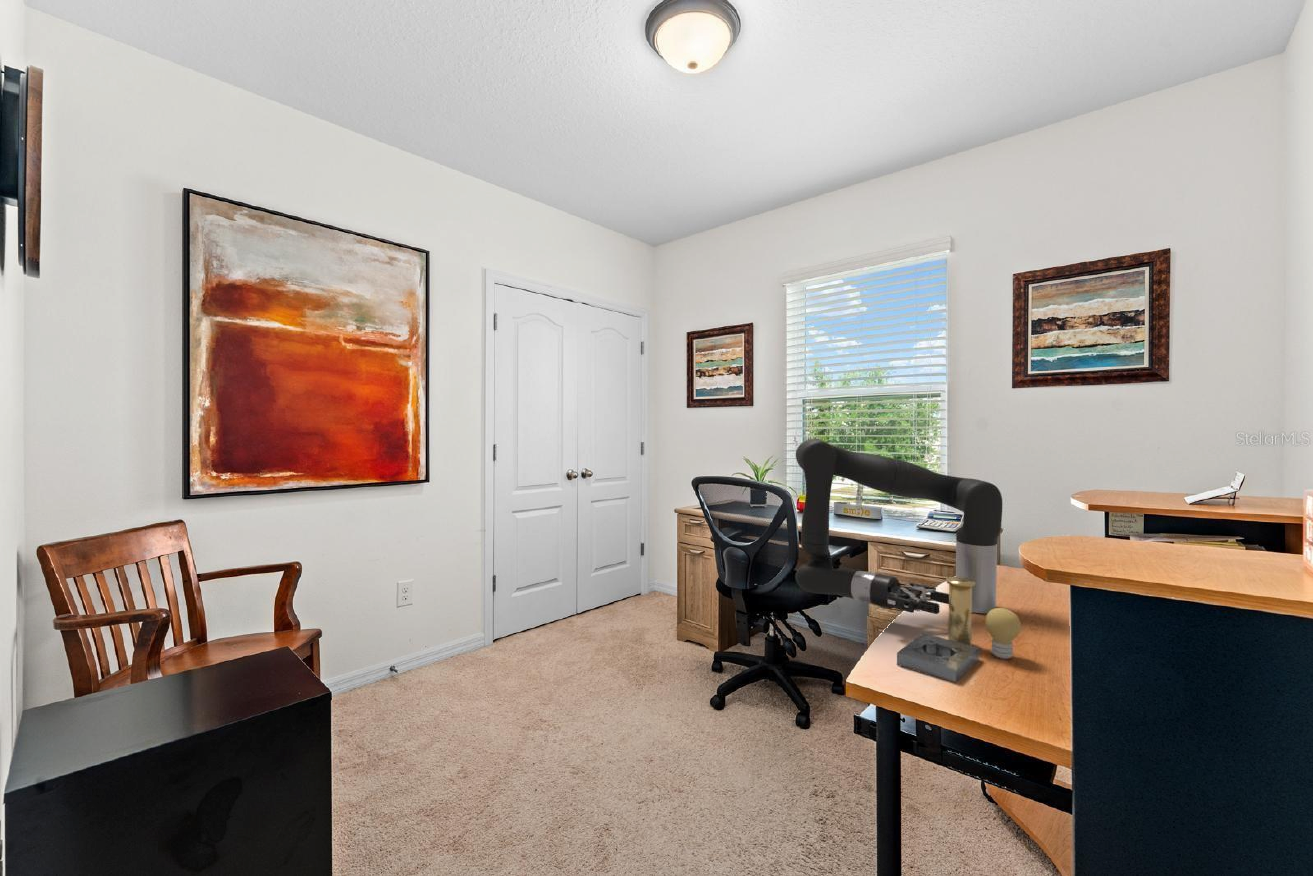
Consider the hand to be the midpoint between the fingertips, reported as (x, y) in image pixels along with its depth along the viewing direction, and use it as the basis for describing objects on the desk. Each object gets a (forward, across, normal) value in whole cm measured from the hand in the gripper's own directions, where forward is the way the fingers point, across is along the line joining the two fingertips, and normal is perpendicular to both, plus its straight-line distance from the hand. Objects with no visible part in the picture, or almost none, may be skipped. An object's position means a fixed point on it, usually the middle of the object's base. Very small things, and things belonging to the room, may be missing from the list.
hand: (946, 604), depth 126 cm
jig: (+3, -13, +8) cm, 16 cm away
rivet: (+3, 0, +8) cm, 8 cm away
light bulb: (+11, -1, +8) cm, 14 cm away
